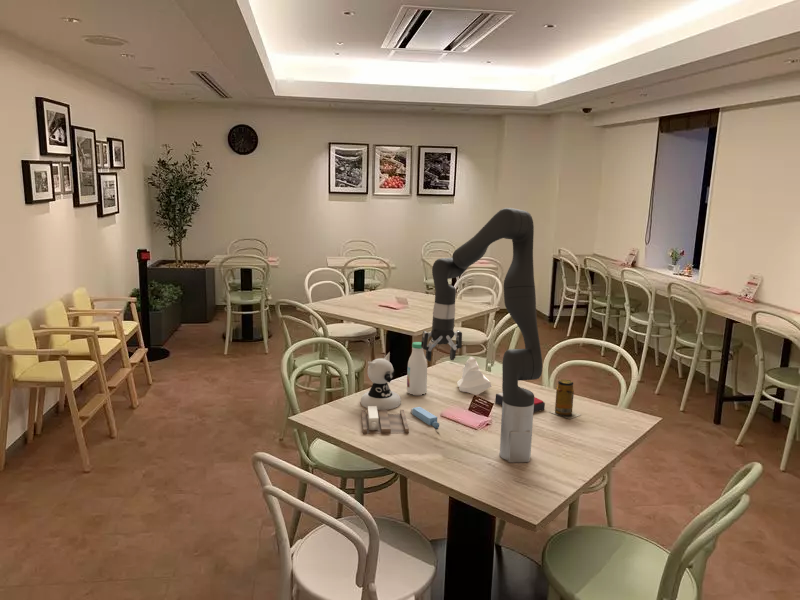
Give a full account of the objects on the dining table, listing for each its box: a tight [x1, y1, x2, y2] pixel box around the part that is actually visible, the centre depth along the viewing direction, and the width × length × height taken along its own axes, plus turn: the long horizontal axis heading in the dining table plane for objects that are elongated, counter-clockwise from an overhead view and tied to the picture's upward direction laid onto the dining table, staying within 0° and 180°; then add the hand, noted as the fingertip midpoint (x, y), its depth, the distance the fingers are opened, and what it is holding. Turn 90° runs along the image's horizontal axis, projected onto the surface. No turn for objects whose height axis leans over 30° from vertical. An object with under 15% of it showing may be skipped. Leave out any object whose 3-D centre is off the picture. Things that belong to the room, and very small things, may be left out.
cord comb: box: [361, 409, 410, 435], centre depth 206 cm, size 17×15×3 cm
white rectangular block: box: [367, 406, 379, 430], centre depth 205 cm, size 15×3×4 cm, turn 5°
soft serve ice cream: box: [456, 356, 492, 396], centre depth 246 cm, size 12×15×14 cm
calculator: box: [494, 391, 546, 413], centre depth 229 cm, size 11×4×15 cm
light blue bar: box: [410, 406, 440, 429], centre depth 211 cm, size 15×3×4 cm, turn 30°
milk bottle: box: [406, 341, 428, 396], centre depth 239 cm, size 8×8×20 cm
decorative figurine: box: [360, 351, 402, 411], centre depth 223 cm, size 15×15×20 cm
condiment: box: [550, 379, 581, 419], centre depth 222 cm, size 7×8×12 cm
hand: (440, 360), depth 216 cm, fingers open, 8 cm apart
